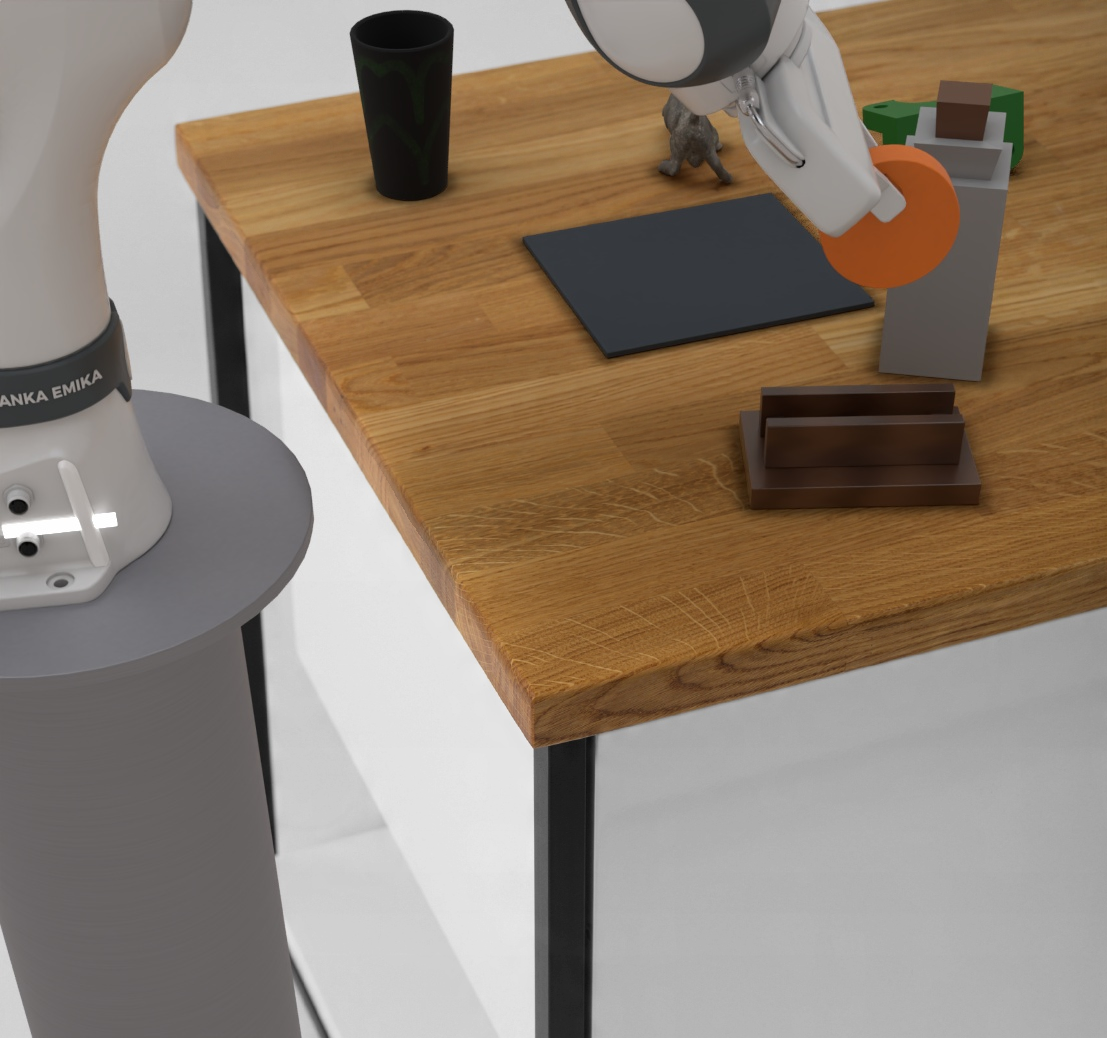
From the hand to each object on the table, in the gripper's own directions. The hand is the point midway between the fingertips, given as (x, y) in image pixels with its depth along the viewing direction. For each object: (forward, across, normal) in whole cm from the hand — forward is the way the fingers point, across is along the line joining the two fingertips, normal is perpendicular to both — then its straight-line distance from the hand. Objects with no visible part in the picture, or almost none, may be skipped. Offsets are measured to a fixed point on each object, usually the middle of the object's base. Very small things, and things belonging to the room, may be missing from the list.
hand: (891, 195), depth 118 cm
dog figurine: (+8, +43, +18) cm, 48 cm away
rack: (+12, -1, +13) cm, 18 cm away
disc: (+1, 0, +1) cm, 1 cm away
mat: (+6, +25, +19) cm, 32 cm away
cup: (-8, +40, +34) cm, 53 cm away
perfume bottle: (+17, +13, +8) cm, 23 cm away
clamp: (+21, +41, +5) cm, 46 cm away
